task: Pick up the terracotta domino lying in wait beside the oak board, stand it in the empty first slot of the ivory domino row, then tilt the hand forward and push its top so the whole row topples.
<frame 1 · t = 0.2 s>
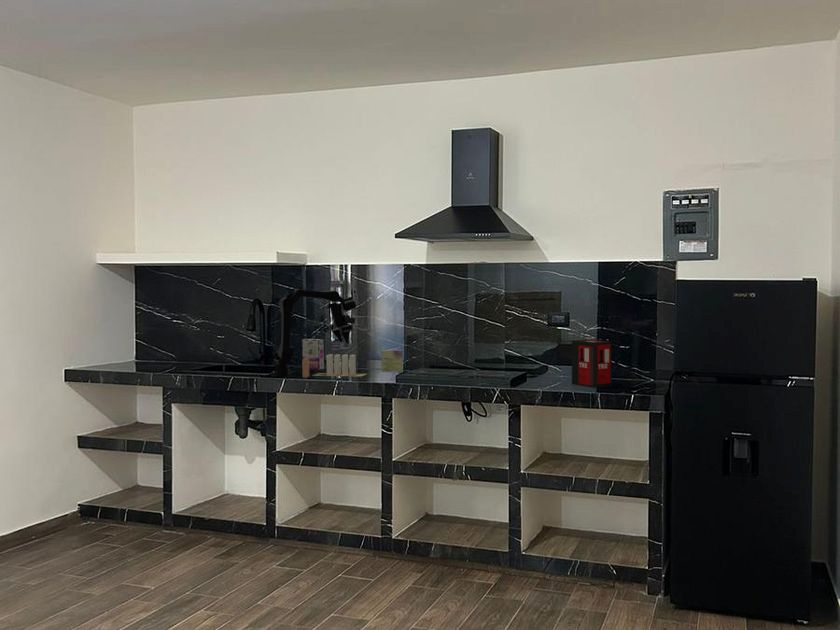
hand: (344, 342, 431), 15 cm above the countertop, tool pointing down, fingers open, 9 cm apart
box: (392, 373, 427), on the countertop
domino board: (339, 376, 412), on the countertop
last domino: (352, 375, 411), point 1 cm above the countertop, touching domino board
domino 4: (345, 374, 411), point 1 cm above the countertop, touching domino board
domino 3: (337, 374, 412), point 1 cm above the countertop, touching domino board
candy bar box: (313, 369, 445), on the countertop
domino 2: (329, 374, 413), point 1 cm above the countertop, touching domino board
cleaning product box: (591, 385, 372), on the countertop
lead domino: (306, 378, 406), on the countertop
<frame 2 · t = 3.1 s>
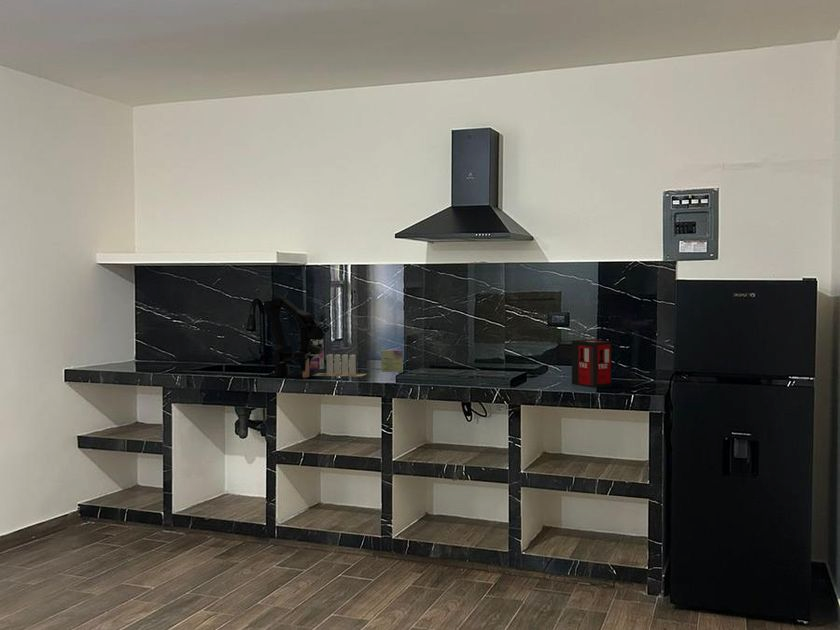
hand: (305, 370, 405), 4 cm above the countertop, tool pointing down, fingers closed on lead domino, 5 cm apart
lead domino: (306, 378, 406), on the countertop, touching gripper
everything else where it was.
when the fingers open (6 cm above the countertop, at t = 6.7 s): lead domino stays where it is, resting on domino board.
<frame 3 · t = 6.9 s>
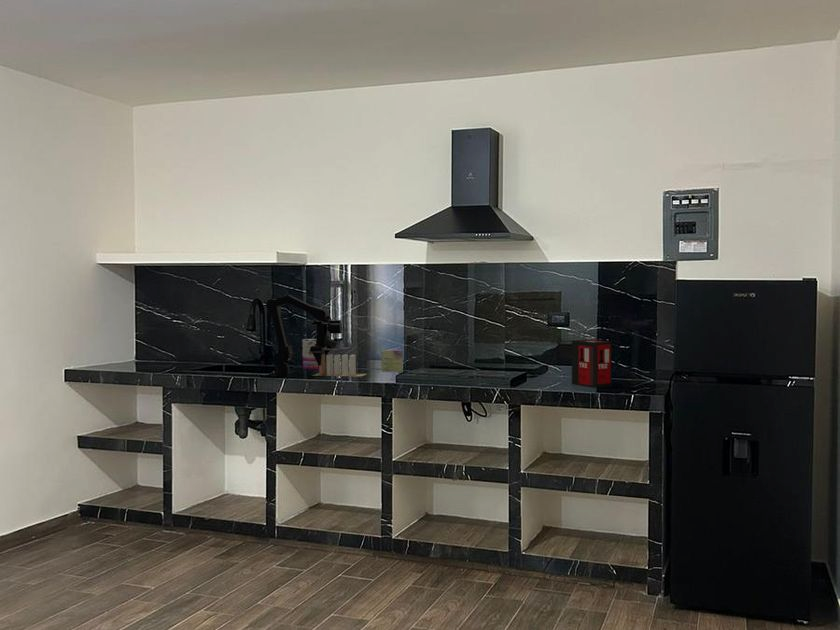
hand: (322, 364, 414), 6 cm above the countertop, tool pointing down, fingers open, 7 cm apart
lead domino: (322, 374, 414), point 1 cm above the countertop, touching domino board
everything else where it was.
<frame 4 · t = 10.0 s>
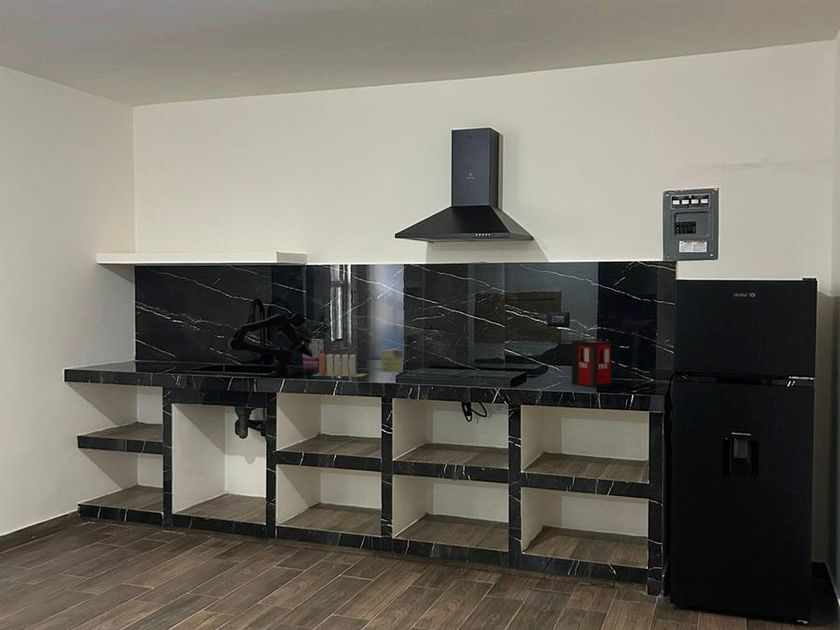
hand: (312, 356, 415), 10 cm above the countertop, tool tilted 45°, fingers closed
nothing on the countertop moved.
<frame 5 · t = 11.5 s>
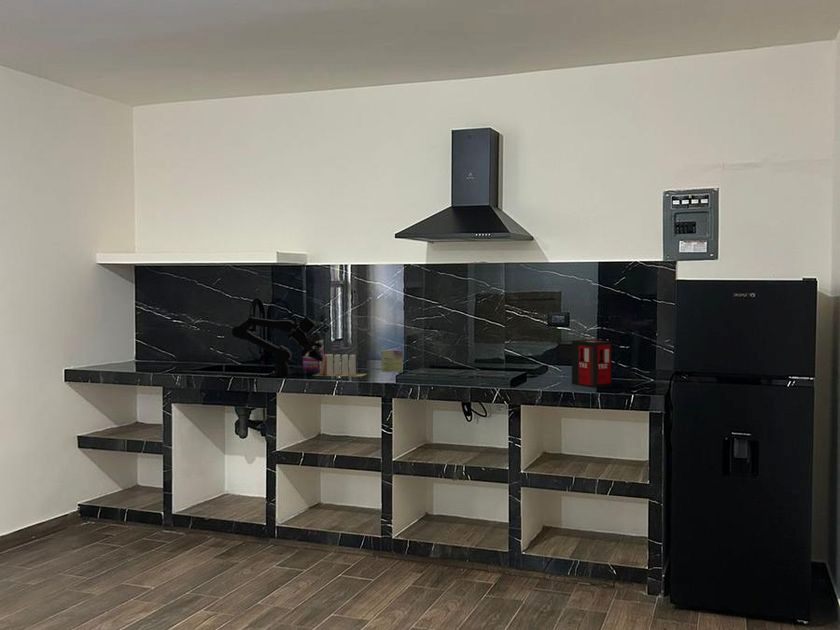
hand: (323, 361, 414), 8 cm above the countertop, tool tilted 45°, fingers closed
domino 2: (329, 374, 413), point 1 cm above the countertop, touching domino board, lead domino
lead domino: (322, 374, 414), point 1 cm above the countertop, tilted 14°, touching domino 2, domino board
everything else where it was.
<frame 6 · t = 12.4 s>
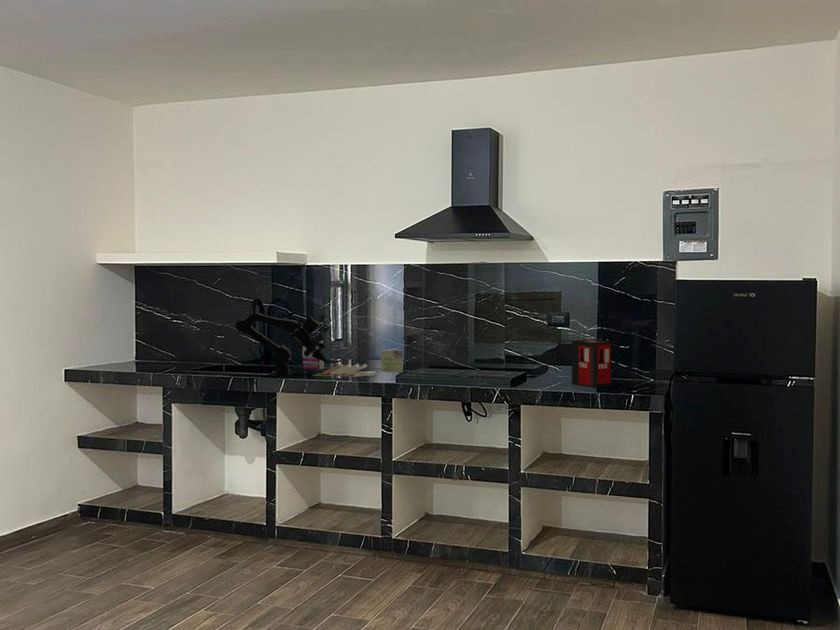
hand: (326, 361, 413), 8 cm above the countertop, tool tilted 45°, fingers closed
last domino: (355, 373, 410), point 2 cm above the countertop, tilted 90°, touching domino 4, domino board
domino 4: (347, 373, 411), point 2 cm above the countertop, tilted 66°, touching domino 3, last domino
domino 3: (340, 373, 412), point 2 cm above the countertop, tilted 66°, touching domino 2, domino 4, domino board
domino 2: (332, 373, 413), point 2 cm above the countertop, tilted 67°, touching domino 3, domino board, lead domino
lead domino: (324, 372, 414), point 2 cm above the countertop, tilted 67°, touching domino 2, domino board
everything else where it was.
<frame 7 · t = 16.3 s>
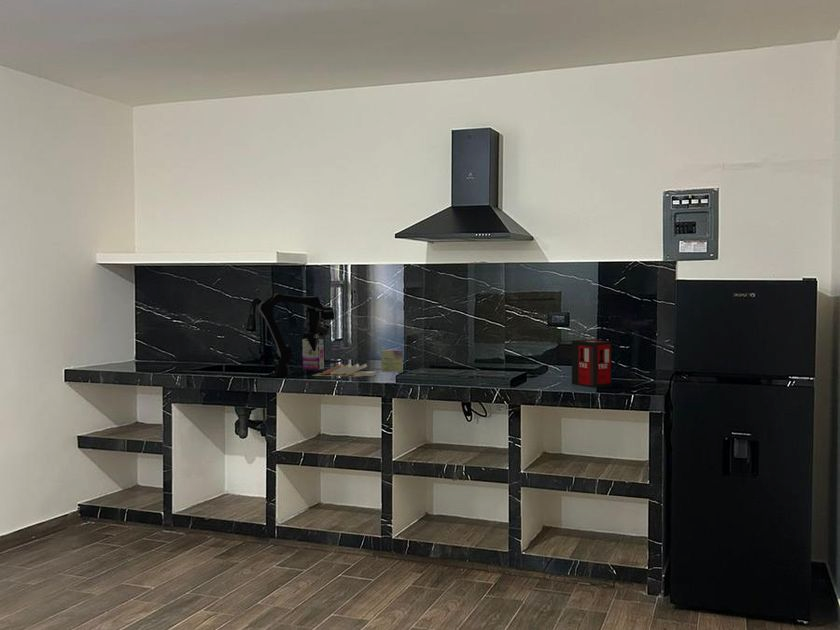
hand: (314, 351, 423), 12 cm above the countertop, tool pointing down, fingers closed
nothing on the countertop moved.
at the end: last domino tilted 90°; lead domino tilted 67°; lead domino inside the target area on the domino board (1.2 cm from its centre), point 1.8 cm above the domino board's base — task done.
